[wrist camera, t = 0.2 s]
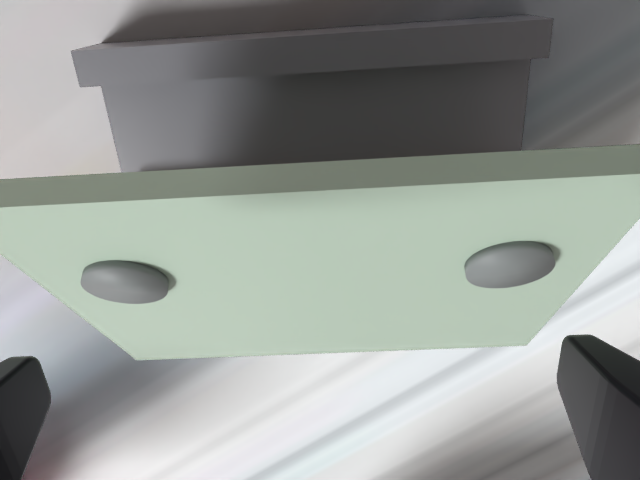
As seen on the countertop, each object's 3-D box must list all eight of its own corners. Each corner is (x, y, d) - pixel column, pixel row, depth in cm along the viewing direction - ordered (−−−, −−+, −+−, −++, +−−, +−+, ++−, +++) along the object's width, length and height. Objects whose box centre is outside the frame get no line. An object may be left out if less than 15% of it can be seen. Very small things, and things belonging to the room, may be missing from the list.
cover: (522, 327, 22) (527, 352, 22) (139, 342, 23) (135, 367, 22) (668, 142, 12) (686, 183, 11) (-45, 181, 12) (-61, 221, 12)
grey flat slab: (500, 294, 24) (516, 326, 22) (161, 309, 25) (144, 340, 23) (527, 14, 19) (553, 18, 17) (100, 43, 20) (70, 50, 18)
